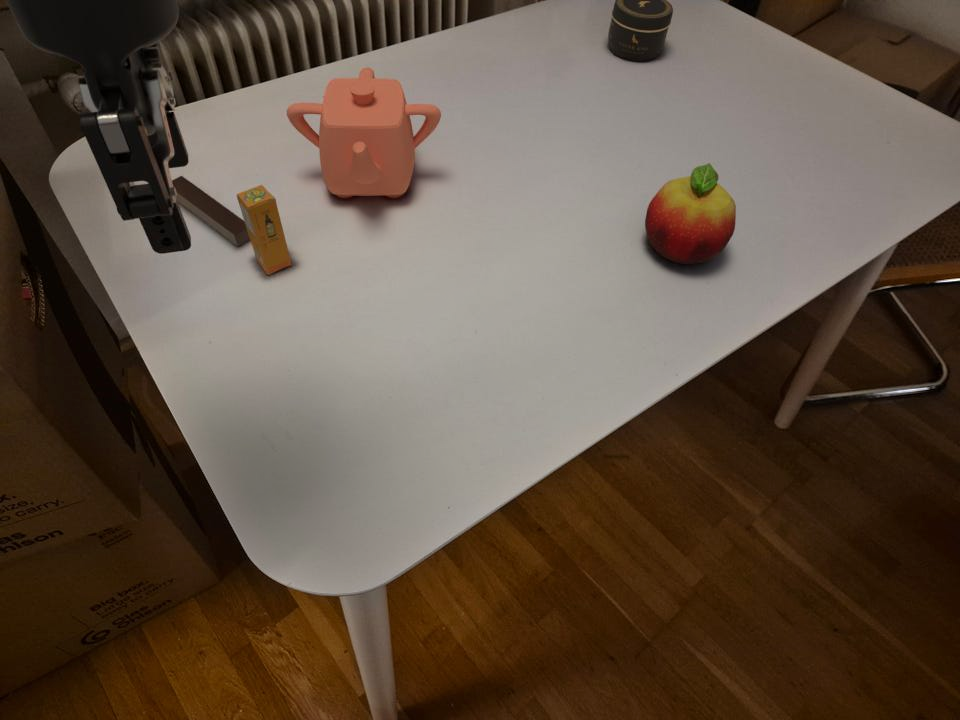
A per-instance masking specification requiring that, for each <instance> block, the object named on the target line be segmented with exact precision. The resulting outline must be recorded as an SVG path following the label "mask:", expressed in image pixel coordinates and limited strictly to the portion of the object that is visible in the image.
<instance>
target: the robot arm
mask: <svg viewBox="0 0 960 720" xmlns="http://www.w3.org/2000/svg"><path fill="white" fill-rule="evenodd" d="M5 2H6V4H7V7H8V8H9V10H10V12H11V15H12V17H13V19H14V21H15V23H16V26H17V27H18V29H19V31H20V33H21V34H22V36H23V38H25V40H27V42H29V43H30V44H31V45H32V46H34V47H36V48H37V49H39V50H41V51H44V52H45V53H48V54H51V55H57V56H60V57H63V58H66V59H68V60H71V61H72V62H74V63H76V64H78V65H79V66H80V68H82V75H80V76H78V77H77V84H78V88H79V92H80V96H81V100H82V103H83V106H84V107H85V108H86V109H88V110H89V112H81V113H79V121H78V125H79V128H80V131H81V132H82V133H83V135H84V137H85V140H86V141H87V142H86V143H87V145H88V147H89V149H90V151H91V153H92V155H93V157H94V160H95V162H96V164H97V166H98V169H99V171H100V173H101V175H102V178H103V180H104V182H105V185H106V187H107V189H108V191H109V193H110V195H111V198H112V200H113V203H114V205H115V207H116V211H117V214H118V215H120V219H122V221H124V222H126V221H133V220H137V219H138V220H139V222H140V225H141V227H142V229H143V231H144V233H145V236H146V238H147V240H148V242H149V244H150V247H151V249H152V250H153V252H154V253H156V254H160V255H163V254H170V253H171V254H172V253H177V252H185V251H188V250H190V249H191V247H192V236H191V233H190V230H189V229H188V225H187V222H186V220H185V218H184V215H183V212H182V209H181V206H180V203H179V202H178V201H177V199H176V196H177V193H176V189H175V187H173V183H172V180H173V178H172V176H171V172H170V169H174V168H175V169H176V168H184V167H186V166H188V164H189V151H188V150H187V147H186V144H185V140H184V137H183V134H182V131H181V128H180V126H179V123H178V120H177V117H176V114H175V111H176V105H177V103H176V98H175V94H174V88H173V83H172V81H173V74H172V72H171V71H170V70H169V67H168V65H167V62H166V59H165V57H164V52H163V50H162V47H161V44H160V41H162V40H164V39H165V38H166V37H167V36H169V34H170V33H171V32H172V31H174V29H175V27H176V25H177V23H178V22H179V17H180V6H179V3H178V0H5ZM135 182H136V183H137V182H146V183H142V184H135Z"/></svg>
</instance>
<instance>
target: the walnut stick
mask: <svg viewBox="0 0 960 720" xmlns="http://www.w3.org/2000/svg"><path fill="white" fill-rule="evenodd" d="M172 183H173V187H175V189H176V193H177V196H176V199H177V201H178V204H179V205H181V206H182V207H184V208H185V209H187V210H188V211H189V212H190V213H192V214H193V215H194V216H196V217H198V218H199V219H200V220H201V221H203V222H204V223H206V224H207V225H208V226H209V227H211V229H213V230H214V231H216V232H217V233H219V234H220V235H221V236H223V237H224V238H225V239H227V240H228V241H229V242H231V243H232V244H233V245H235V246H236V247H237V248H239V247H241V246H243V245H244V244H246V243H248V242H249V241H251V240H250V237H249V234H248V231H247V228H246V224H245V221H244V219H242V218H241V217H240V216H238V215H236V214H235V213H234V212H232V210H230V209H229V208H227V207H226V206H224V205H223V204H222V203H220V202H219V201H217V200H216V199H215V198H213V197H212V196H211V195H210V194H208V193H206V192H205V191H204V190H202V189H201V188H199V187H198V186H197V185H196V184H194V183H192V182H191V181H190V180H188V179H187V178H186V177H184V176H183V175H180V176H178V177H176V178H174V179H172Z"/></svg>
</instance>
